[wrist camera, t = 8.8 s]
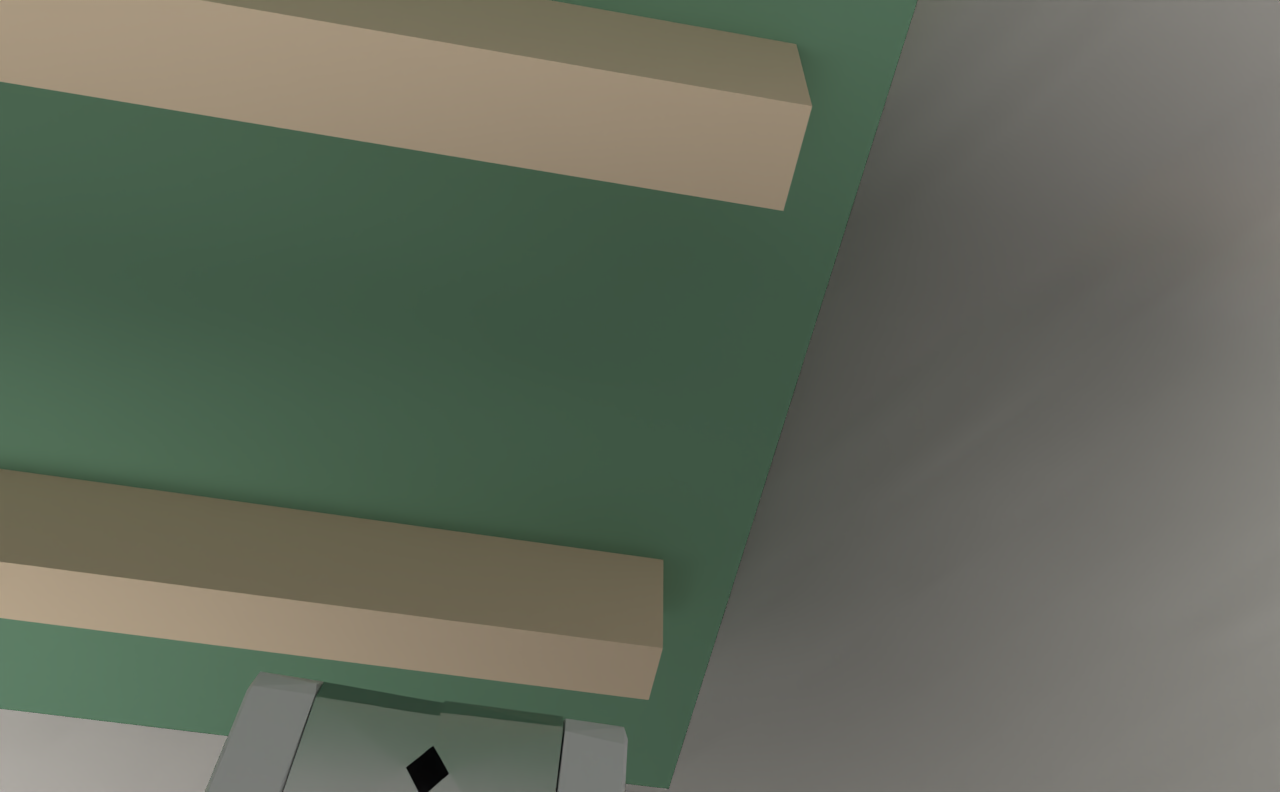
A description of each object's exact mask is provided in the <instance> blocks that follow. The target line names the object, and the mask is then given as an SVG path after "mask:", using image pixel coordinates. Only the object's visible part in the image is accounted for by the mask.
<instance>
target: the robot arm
mask: <svg viewBox="0 0 1280 792" xmlns="http://www.w3.org/2000/svg"><path fill="white" fill-rule="evenodd" d="M627 745H628V738H627V735H626V732H625V729H624V727H622V726H615V725H608V724H601V723H594V722H587V721H580V720H573V719H565V720H564V721H563V716H556V715H549V714H541V713H534V712H526V711H519V710H512V709H504V708H497V707H490V706H482V705H475V704H467V703H460V702H453V701H445V702H444V703H441V702H436V701H430V700H424V699H419V698H413V697H407V696H402V695H396V694H391V693H385V692H379V691H374V690H368V689H362V688H357V687H351V686H345V685H340V684H334V683H328V682H323V681H317V680H310V679H304V678H298V677H291V676H285V675H279V674H273V673H266V672H260V673H259V674H258V675H257V677H256V678H255V679H254V681H253V682H252V683H251V685H250V686H249V687H248V689H247V691H246V694H245V696H244V698H243V701H242V703H241V706H240V708H239V710H238V713H237V715H236V718H235V720H234V722H233V725H232V727H231V730H230V732H229V735H228V737H227V739H226V742H225V744H224V747H223V749H222V751H221V754H220V756H219V759H218V761H217V764H216V766H215V768H214V771H213V773H212V776H211V778H210V780H209V783H208V785H207V788H206V790H205V792H625V781H626V763H627Z"/></svg>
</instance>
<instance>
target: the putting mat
mask: <svg viewBox="0 0 1280 792" xmlns="http://www.w3.org/2000/svg"><path fill="white" fill-rule="evenodd" d="M916 3H917V0H0V709H8V710H16V711H24V712H33V713H41V714H49V715H58V716H66V717H74V718H83V719H91V720H99V721H108V722H116V723H124V724H133V725H141V726H149V727H158V728H166V729H174V730H183V731H191V732H199V733H208V734H216V735H224V736H228V735H229V732H230V730H231V727H232V725H233V722H234V720H235V718H236V715H237V713H238V710H239V708H240V706H241V703H242V701H243V698H244V696H245V694H246V691H247V689H248V687H249V686H250V685H251V683H252V682H253V681H254V679H255V678H256V677H257V675H258V674H259V673H260V672H266V673H273V674H279V675H285V676H291V677H298V678H304V679H310V680H317V681H323V682H328V683H334V684H340V685H345V686H351V687H357V688H362V689H368V690H374V691H379V692H385V693H391V694H396V695H402V696H407V697H413V698H419V699H424V700H430V701H436V702H441V703H444V702H445V701H453V702H460V703H467V704H475V705H482V706H490V707H497V708H504V709H512V710H519V711H526V712H534V713H541V714H549V715H556V716H563V721H564V720H565V719H573V720H580V721H587V722H594V723H601V724H608V725H615V726H622V727H624V729H625V732H626V735H627V738H628V745H627V763H626V781H625V784H633V785H641V786H649V787H657V788H666V789H669V786H670V783H671V780H672V776H673V773H674V770H675V767H676V764H677V761H678V757H679V754H680V751H681V748H682V745H683V742H684V738H685V735H686V732H687V729H688V726H689V723H690V719H691V716H692V713H693V710H694V707H695V704H696V700H697V697H698V694H699V691H700V688H701V685H702V681H703V678H704V675H705V672H706V669H707V666H708V662H709V659H710V656H711V653H712V650H713V647H714V643H715V640H716V637H717V634H718V631H719V628H720V624H721V621H722V618H723V615H724V612H725V609H726V605H727V602H728V599H729V596H730V593H731V590H732V586H733V583H734V580H735V577H736V574H737V570H738V567H739V564H740V561H741V558H742V555H743V551H744V548H745V545H746V542H747V539H748V536H749V532H750V529H751V526H752V523H753V520H754V517H755V513H756V510H757V507H758V504H759V501H760V498H761V494H762V491H763V488H764V485H765V482H766V479H767V475H768V472H769V469H770V466H771V463H772V460H773V456H774V453H775V450H776V447H777V444H778V441H779V437H780V434H781V431H782V428H783V425H784V422H785V418H786V415H787V412H788V409H789V406H790V403H791V399H792V396H793V393H794V390H795V387H796V384H797V380H798V377H799V374H800V371H801V368H802V365H803V361H804V358H805V355H806V352H807V349H808V346H809V342H810V339H811V336H812V333H813V330H814V327H815V323H816V320H817V317H818V314H819V311H820V308H821V304H822V301H823V298H824V295H825V292H826V289H827V285H828V282H829V279H830V276H831V273H832V270H833V266H834V263H835V260H836V257H837V254H838V251H839V247H840V244H841V241H842V238H843V235H844V232H845V228H846V225H847V222H848V219H849V216H850V213H851V209H852V206H853V203H854V200H855V197H856V194H857V190H858V187H859V184H860V181H861V178H862V175H863V171H864V168H865V165H866V162H867V159H868V155H869V152H870V149H871V146H872V143H873V140H874V136H875V133H876V130H877V127H878V124H879V121H880V117H881V114H882V111H883V108H884V105H885V102H886V98H887V95H888V92H889V89H890V86H891V83H892V79H893V76H894V73H895V70H896V67H897V64H898V60H899V57H900V54H901V51H902V48H903V45H904V41H905V38H906V35H907V32H908V29H909V26H910V22H911V19H912V16H913V13H914V10H915V7H916Z"/></svg>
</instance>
